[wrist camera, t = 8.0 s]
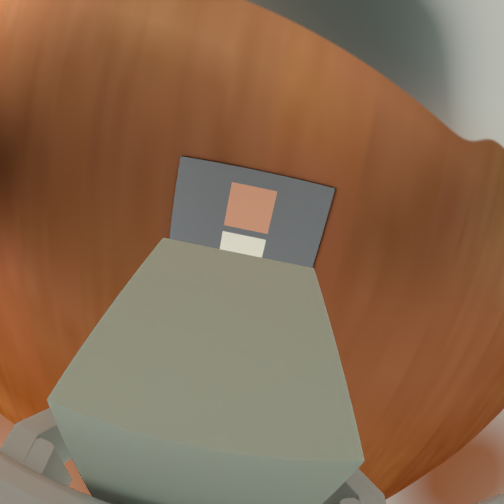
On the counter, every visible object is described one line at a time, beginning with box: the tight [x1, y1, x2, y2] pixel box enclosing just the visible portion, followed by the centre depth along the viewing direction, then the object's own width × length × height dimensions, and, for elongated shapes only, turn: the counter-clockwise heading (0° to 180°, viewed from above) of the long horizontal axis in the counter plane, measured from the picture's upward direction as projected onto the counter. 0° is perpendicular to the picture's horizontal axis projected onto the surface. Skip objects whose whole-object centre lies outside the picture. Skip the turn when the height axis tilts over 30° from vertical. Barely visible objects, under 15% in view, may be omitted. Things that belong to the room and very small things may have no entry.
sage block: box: [47, 238, 365, 504], centre depth 9 cm, size 5×9×7 cm, turn 168°
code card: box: [169, 156, 335, 268], centre depth 26 cm, size 12×10×1 cm
